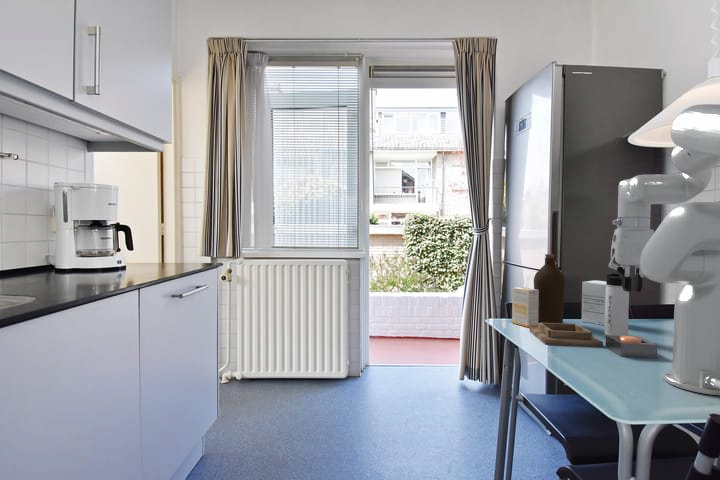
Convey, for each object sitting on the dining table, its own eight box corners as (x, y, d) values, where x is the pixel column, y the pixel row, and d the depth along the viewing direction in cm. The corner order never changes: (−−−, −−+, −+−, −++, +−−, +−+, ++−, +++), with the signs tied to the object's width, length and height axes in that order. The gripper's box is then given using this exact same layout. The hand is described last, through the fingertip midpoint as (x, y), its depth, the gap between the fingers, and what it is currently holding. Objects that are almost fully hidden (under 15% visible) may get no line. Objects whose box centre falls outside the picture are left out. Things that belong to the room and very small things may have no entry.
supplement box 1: (538, 327, 147) (539, 289, 147) (528, 328, 145) (528, 290, 145) (521, 322, 155) (522, 286, 154) (511, 323, 153) (511, 287, 153)
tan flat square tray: (602, 346, 122) (603, 334, 122) (545, 344, 124) (545, 332, 124) (580, 333, 138) (580, 322, 138) (529, 331, 140) (529, 321, 140)
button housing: (657, 358, 112) (657, 344, 112) (620, 356, 113) (621, 343, 113) (638, 348, 121) (639, 336, 121) (605, 347, 122) (605, 335, 122)
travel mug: (623, 336, 136) (625, 273, 135) (630, 341, 129) (632, 275, 129) (601, 334, 137) (603, 273, 137) (607, 339, 131) (609, 274, 131)
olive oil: (545, 326, 148) (547, 255, 148) (526, 320, 159) (528, 253, 158) (571, 325, 151) (573, 255, 151) (550, 319, 161) (552, 253, 161)
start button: (645, 350, 114) (645, 340, 114) (625, 349, 115) (625, 339, 115) (635, 345, 119) (635, 336, 119) (616, 345, 120) (616, 335, 120)
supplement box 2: (592, 318, 163) (593, 279, 163) (617, 323, 156) (618, 282, 155) (580, 321, 158) (581, 281, 157) (605, 326, 150) (606, 283, 150)
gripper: (609, 223, 113) (607, 292, 114) (673, 224, 112) (671, 294, 112) (597, 224, 121) (595, 288, 121) (656, 224, 119) (654, 290, 119)
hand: (631, 290), depth 117 cm, fingers closed
